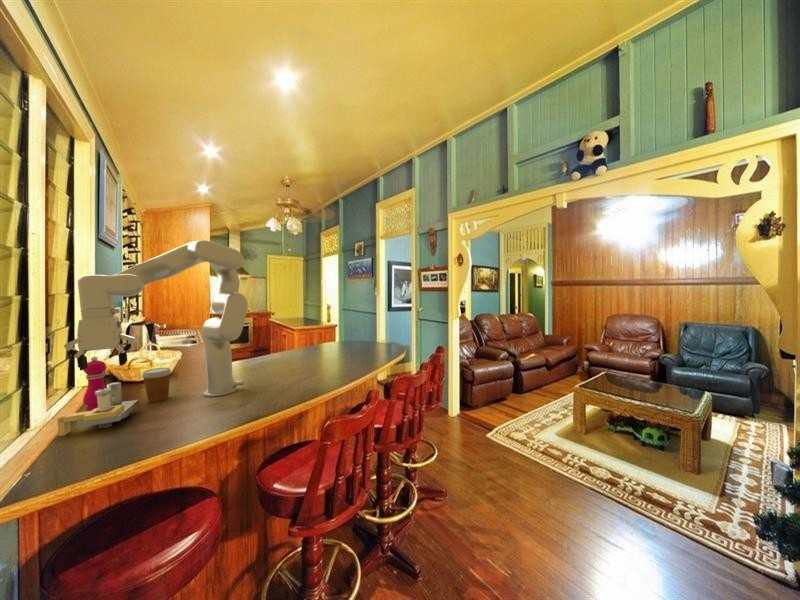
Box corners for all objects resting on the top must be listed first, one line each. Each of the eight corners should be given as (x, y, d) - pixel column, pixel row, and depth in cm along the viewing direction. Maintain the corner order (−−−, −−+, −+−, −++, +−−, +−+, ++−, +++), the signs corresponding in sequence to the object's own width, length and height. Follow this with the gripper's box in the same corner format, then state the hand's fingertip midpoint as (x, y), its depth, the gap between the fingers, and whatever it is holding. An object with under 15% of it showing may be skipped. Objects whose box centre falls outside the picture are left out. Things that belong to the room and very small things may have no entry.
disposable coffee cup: (172, 400, 124) (170, 370, 124) (141, 406, 119) (139, 374, 119) (174, 394, 132) (172, 366, 132) (145, 399, 127) (143, 369, 127)
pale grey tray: (139, 410, 114) (137, 377, 114) (120, 428, 99) (117, 390, 98) (103, 415, 110) (101, 382, 110) (78, 435, 95) (75, 396, 94)
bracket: (124, 420, 105) (123, 404, 105) (115, 429, 99) (114, 411, 98) (68, 429, 100) (66, 412, 99) (54, 439, 93) (52, 421, 93)
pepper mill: (94, 414, 112) (90, 358, 112) (78, 413, 114) (74, 358, 113) (116, 406, 119) (112, 354, 119) (101, 405, 121) (97, 354, 120)
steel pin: (115, 423, 103) (113, 387, 103) (110, 428, 100) (108, 390, 99) (101, 426, 101) (98, 389, 101) (95, 430, 98) (92, 392, 98)
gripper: (136, 310, 106) (141, 360, 107) (68, 315, 99) (74, 368, 100) (127, 312, 99) (133, 365, 100) (53, 317, 92) (60, 374, 93)
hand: (103, 366), depth 100 cm, fingers open, 9 cm apart
